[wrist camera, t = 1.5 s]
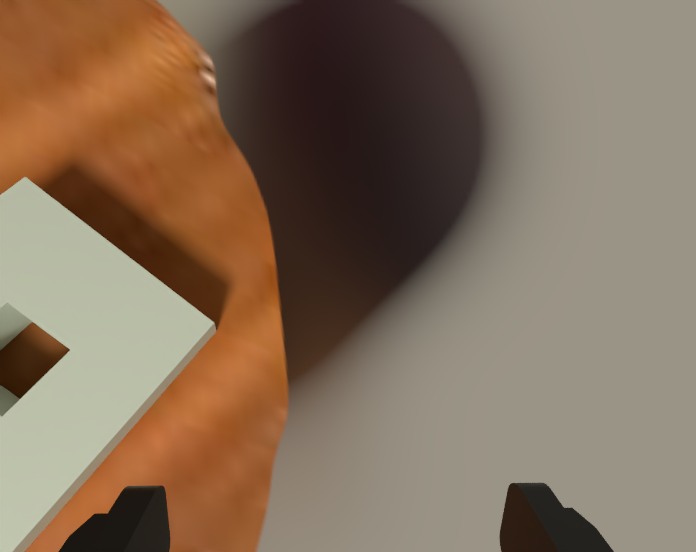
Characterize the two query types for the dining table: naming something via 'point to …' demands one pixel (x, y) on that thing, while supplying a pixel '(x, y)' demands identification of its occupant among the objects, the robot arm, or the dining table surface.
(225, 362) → the dining table surface
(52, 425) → the hole block
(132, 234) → the dining table surface
